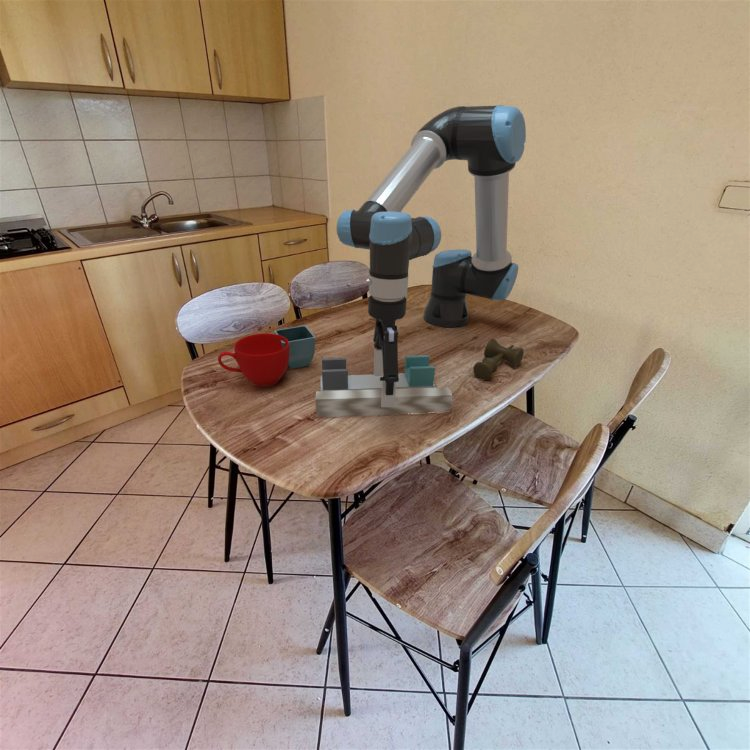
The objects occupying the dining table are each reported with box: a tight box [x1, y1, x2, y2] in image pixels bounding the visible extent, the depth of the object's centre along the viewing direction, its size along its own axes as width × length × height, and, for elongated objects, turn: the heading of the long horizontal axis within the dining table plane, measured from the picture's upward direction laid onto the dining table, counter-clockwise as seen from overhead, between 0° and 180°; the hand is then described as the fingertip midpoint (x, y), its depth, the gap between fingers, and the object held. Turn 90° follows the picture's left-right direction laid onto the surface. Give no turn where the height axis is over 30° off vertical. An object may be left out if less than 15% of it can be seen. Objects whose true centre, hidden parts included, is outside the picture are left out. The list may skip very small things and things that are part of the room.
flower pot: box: [273, 325, 316, 370], centre depth 115 cm, size 9×9×9 cm
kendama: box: [472, 338, 524, 381], centre depth 118 cm, size 6×10×20 cm
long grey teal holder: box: [320, 354, 436, 391], centre depth 107 cm, size 28×7×6 cm, turn 97°
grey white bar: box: [315, 386, 453, 419], centre depth 97 cm, size 30×4×5 cm, turn 96°
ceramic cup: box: [217, 333, 289, 387], centre depth 107 cm, size 13×17×10 cm
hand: (383, 389), depth 95 cm, fingers open, 13 cm apart
